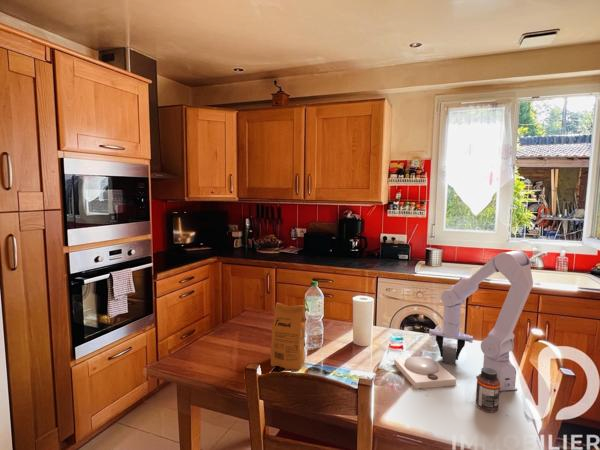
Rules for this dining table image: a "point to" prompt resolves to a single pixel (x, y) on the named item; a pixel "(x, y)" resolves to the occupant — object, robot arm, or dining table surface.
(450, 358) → the steel spacer
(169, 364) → the dining table surface
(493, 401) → the supplement bottle
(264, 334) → the dining table surface
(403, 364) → the kitchen scale
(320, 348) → the dining table surface
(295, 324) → the coffee package
